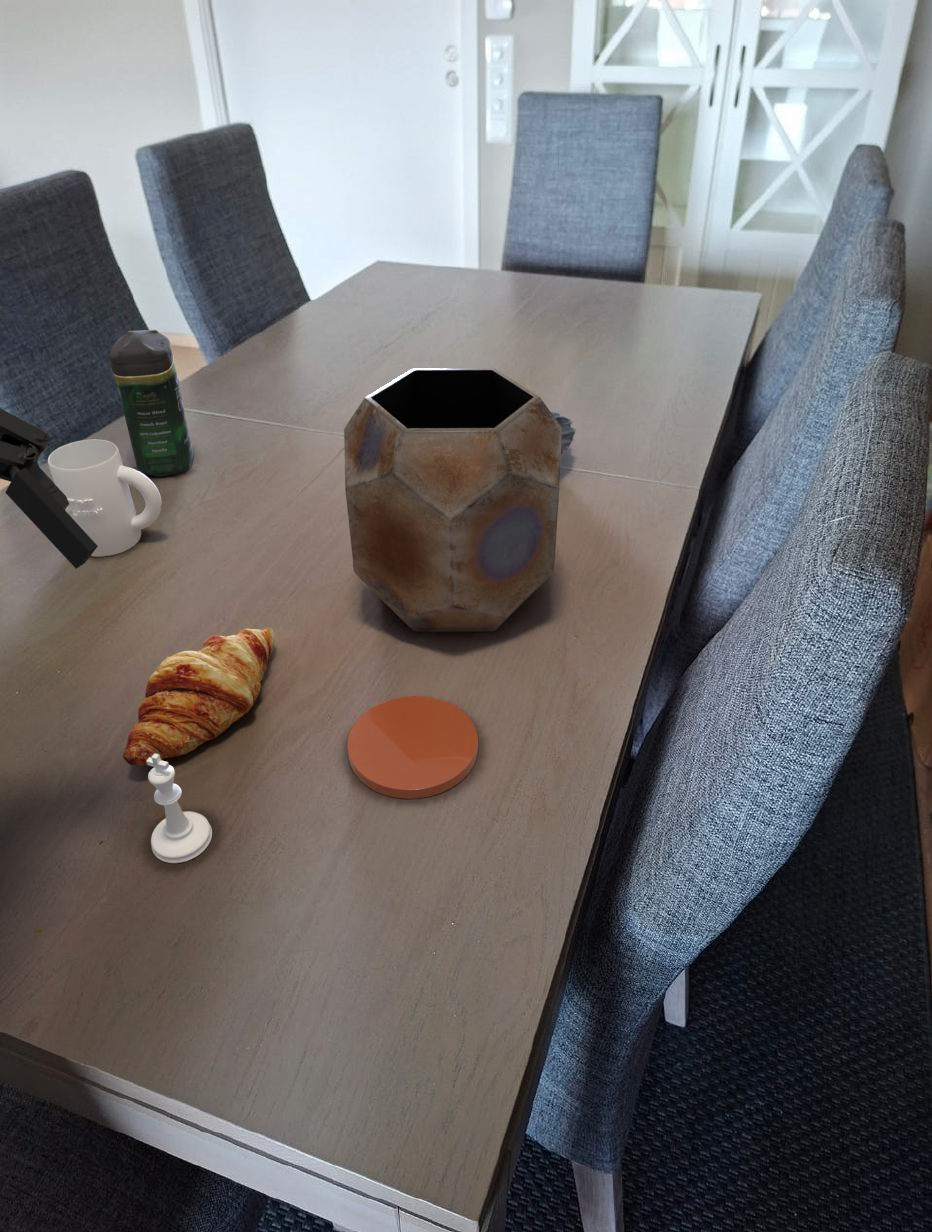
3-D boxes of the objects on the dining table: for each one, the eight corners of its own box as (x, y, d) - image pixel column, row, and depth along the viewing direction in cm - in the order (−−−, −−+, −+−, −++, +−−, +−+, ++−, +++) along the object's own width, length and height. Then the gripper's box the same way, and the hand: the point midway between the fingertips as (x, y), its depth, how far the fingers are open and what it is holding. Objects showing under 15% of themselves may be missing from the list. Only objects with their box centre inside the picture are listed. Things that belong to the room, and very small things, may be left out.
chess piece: (173, 810, 76) (146, 727, 70) (223, 824, 74) (200, 741, 68) (139, 854, 72) (108, 771, 66) (191, 870, 71) (164, 786, 65)
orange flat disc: (342, 800, 76) (341, 790, 76) (354, 705, 86) (353, 696, 85) (479, 798, 76) (479, 788, 76) (476, 703, 86) (476, 694, 85)
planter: (348, 659, 92) (324, 454, 77) (370, 535, 111) (354, 352, 96) (559, 659, 91) (574, 453, 77) (544, 535, 111) (555, 351, 96)
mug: (160, 559, 107) (137, 471, 100) (64, 558, 107) (34, 470, 100) (180, 523, 114) (159, 439, 106) (89, 522, 114) (63, 438, 107)
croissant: (255, 662, 96) (216, 602, 94) (319, 649, 91) (280, 585, 88) (121, 795, 81) (69, 728, 78) (189, 789, 75) (136, 716, 72)
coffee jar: (193, 476, 124) (164, 347, 113) (135, 481, 123) (100, 352, 112) (197, 445, 131) (171, 322, 120) (143, 450, 130) (111, 326, 119)
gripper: (-86, 303, 60) (129, 540, 64) (-548, 452, 43) (-215, 767, 46) (-64, 230, 55) (169, 492, 59) (-579, 365, 37) (-202, 728, 41)
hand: (0, 614), depth 52 cm, fingers open, 13 cm apart
